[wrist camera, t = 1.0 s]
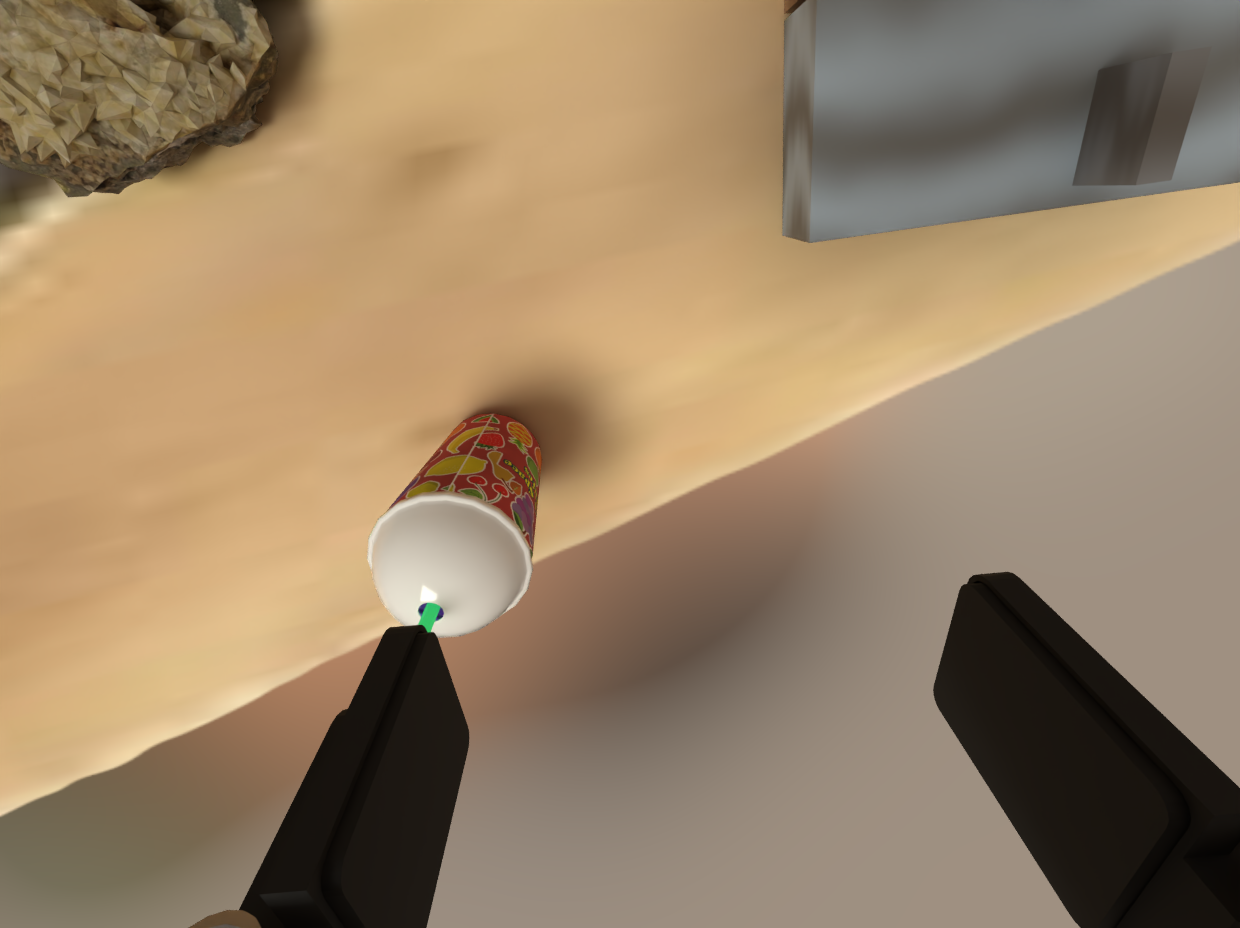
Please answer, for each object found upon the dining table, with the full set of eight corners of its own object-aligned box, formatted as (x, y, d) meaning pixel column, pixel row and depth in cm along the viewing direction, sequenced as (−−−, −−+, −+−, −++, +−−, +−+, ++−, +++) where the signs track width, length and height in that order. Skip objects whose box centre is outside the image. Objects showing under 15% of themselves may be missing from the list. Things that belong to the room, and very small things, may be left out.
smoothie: (560, 493, 42) (527, 720, 24) (453, 501, 42) (342, 732, 24) (546, 391, 38) (494, 572, 20) (428, 400, 38) (274, 587, 20)
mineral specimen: (208, -179, 25) (-9, -380, 16) (347, 134, 31) (242, 113, 22) (-53, -69, 26) (-383, -198, 18) (126, 210, 32) (-54, 219, 23)
